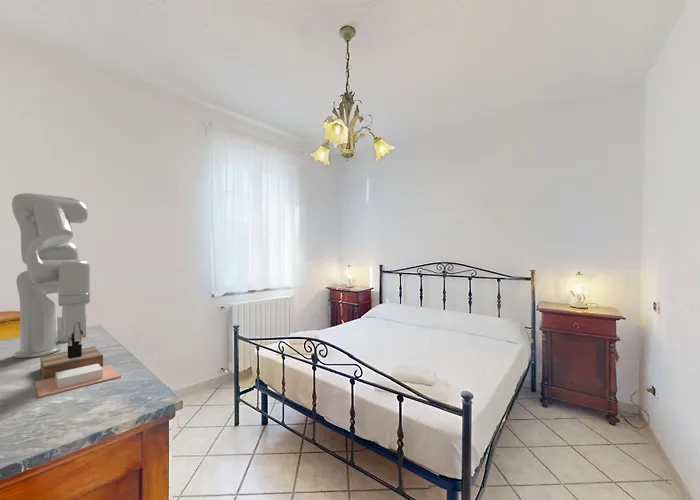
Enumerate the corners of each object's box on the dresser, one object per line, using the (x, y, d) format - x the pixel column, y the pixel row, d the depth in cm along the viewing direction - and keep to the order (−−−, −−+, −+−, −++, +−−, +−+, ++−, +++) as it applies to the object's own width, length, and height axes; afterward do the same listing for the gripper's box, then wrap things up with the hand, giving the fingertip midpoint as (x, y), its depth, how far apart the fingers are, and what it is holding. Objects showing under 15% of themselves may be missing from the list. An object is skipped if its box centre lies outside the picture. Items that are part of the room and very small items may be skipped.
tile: (58, 379, 87) (58, 388, 87) (103, 369, 95) (103, 377, 95) (55, 372, 92) (55, 381, 92) (98, 363, 100) (98, 371, 100)
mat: (34, 382, 92) (34, 381, 92) (110, 365, 105) (110, 364, 105) (38, 397, 83) (38, 396, 83) (121, 377, 96) (121, 375, 96)
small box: (67, 342, 132) (67, 317, 132) (56, 341, 133) (56, 316, 133) (86, 337, 140) (86, 313, 140) (76, 336, 141) (76, 313, 141)
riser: (40, 368, 103) (40, 356, 103) (94, 357, 113) (94, 346, 113) (44, 380, 94) (44, 367, 94) (103, 367, 104) (103, 355, 104)
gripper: (55, 298, 102) (55, 355, 102) (61, 303, 92) (61, 366, 92) (85, 296, 107) (85, 349, 107) (94, 300, 97) (94, 359, 97)
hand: (74, 357), depth 99 cm, fingers closed
